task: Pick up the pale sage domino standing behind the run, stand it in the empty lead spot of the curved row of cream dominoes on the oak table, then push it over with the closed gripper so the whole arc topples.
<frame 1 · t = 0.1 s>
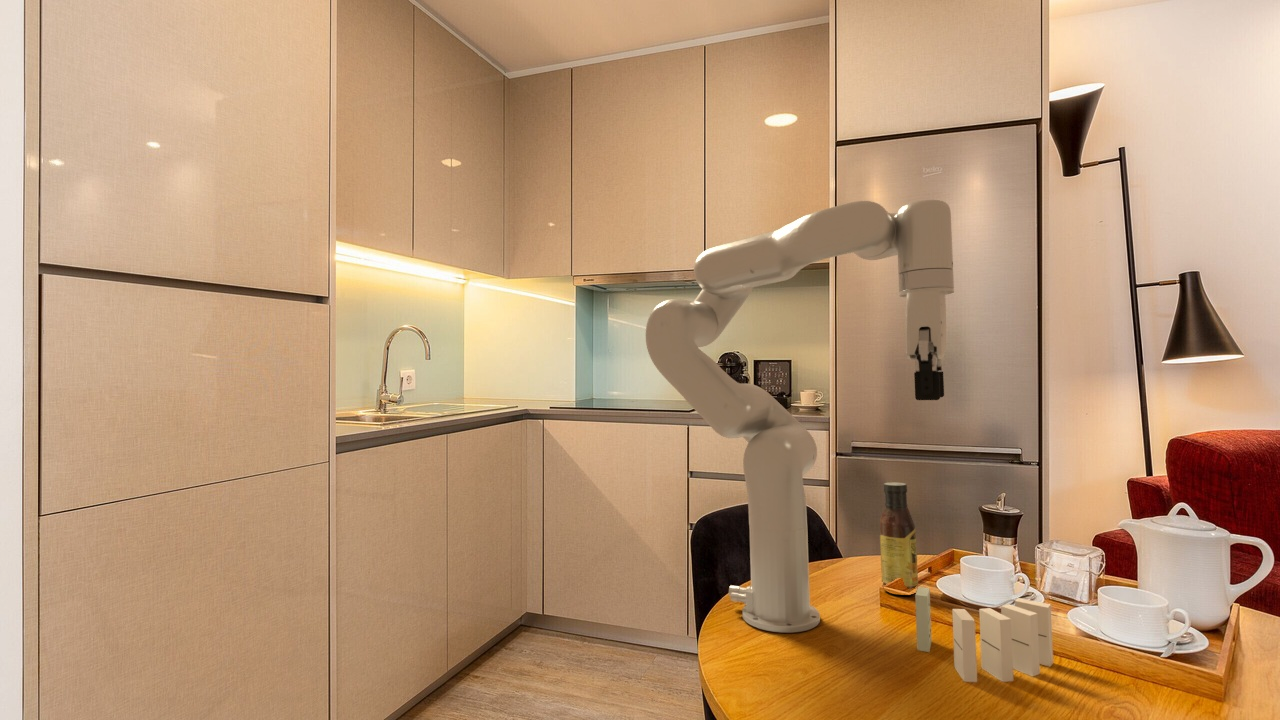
hand: (930, 398, 94), 37 cm above the table, tool pointing down, fingers open, 9 cm apart
domino 5: (1035, 660, 88), on the table
sage domino: (924, 645, 93), on the table
sauce bottle: (899, 592, 116), on the table
domino 3: (997, 674, 84), on the table
domino 2: (965, 674, 84), on the table
domino 4: (1021, 669, 85), on the table
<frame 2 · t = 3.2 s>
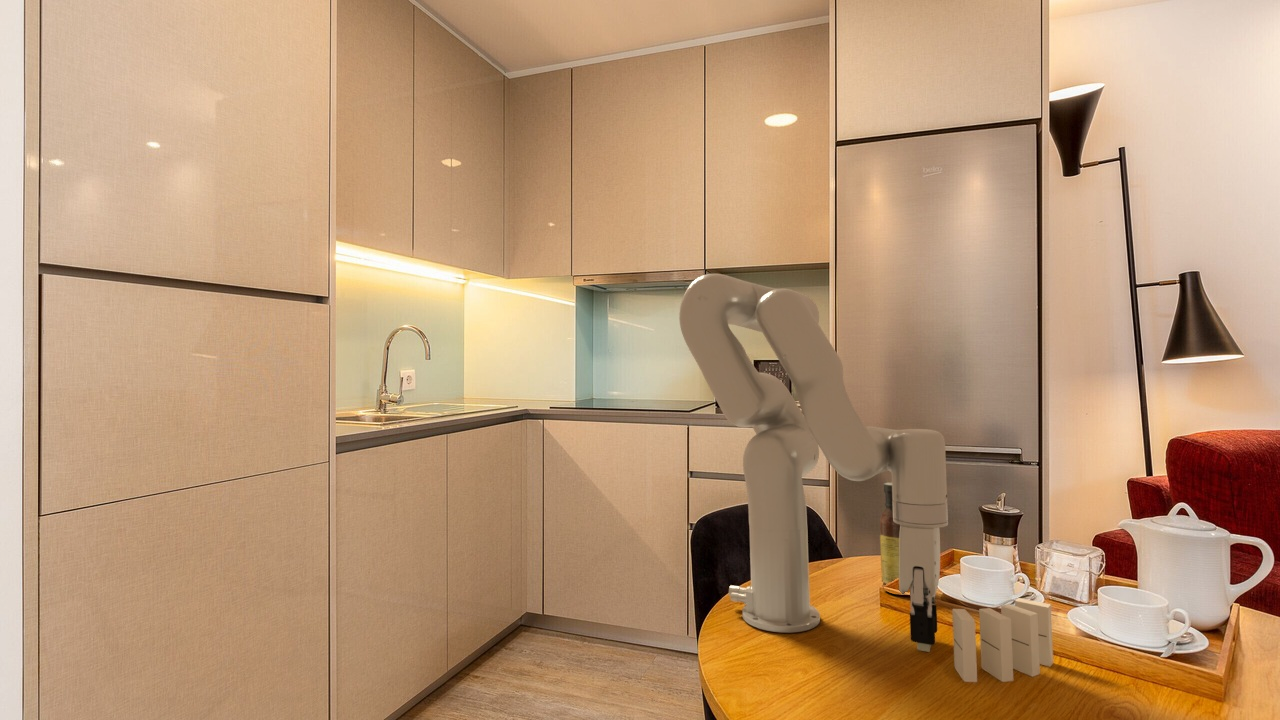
hand: (924, 635, 93), 1 cm above the table, tool pointing down, fingers closed on sage domino, 3 cm apart
sage domino: (924, 645, 93), on the table, touching gripper
everything else where it was.
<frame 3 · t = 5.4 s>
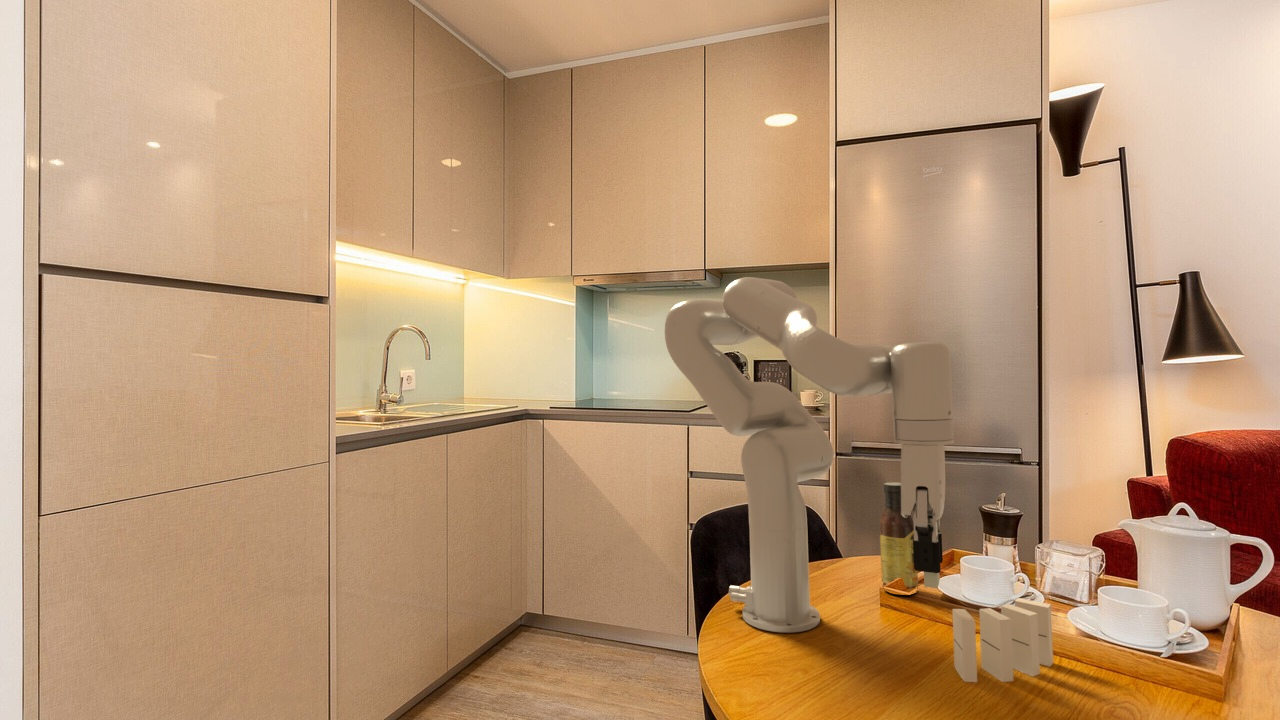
hand: (928, 565, 86), 14 cm above the table, tool pointing down, fingers closed on sage domino, 3 cm apart
sage domino: (932, 583, 85), point 12 cm above the table, touching gripper
everything else where it was.
when the fingers open (2 cm above the table, at t = 7.8 s): sage domino stays where it is, on the table.
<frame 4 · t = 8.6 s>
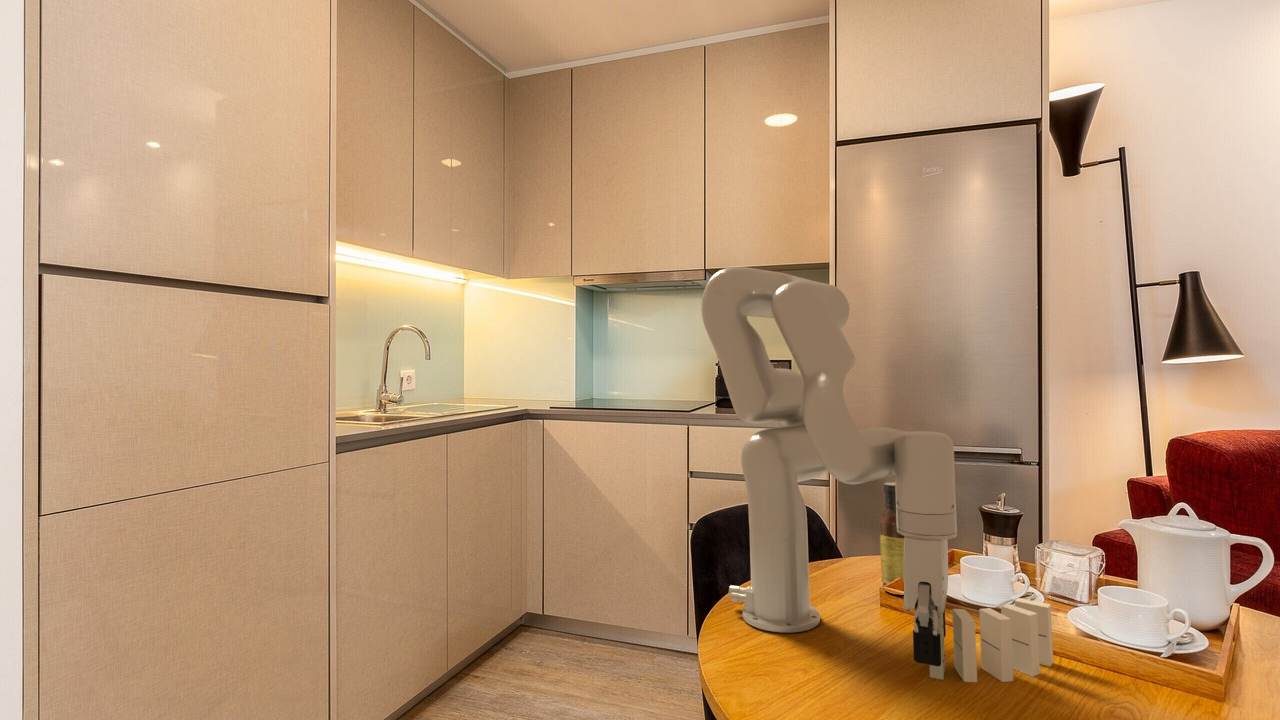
hand: (930, 648, 86), 3 cm above the table, tool pointing down, fingers open, 9 cm apart
sage domino: (937, 672, 85), on the table
everything else where it was.
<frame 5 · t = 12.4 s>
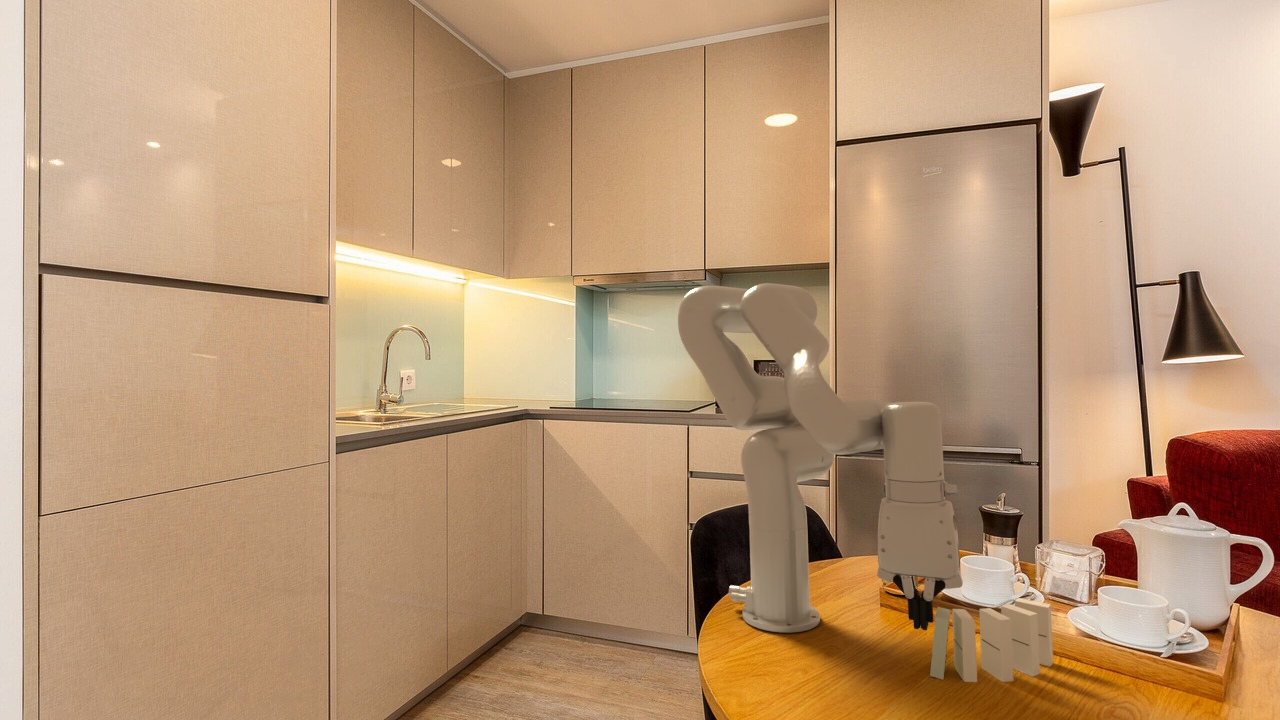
hand: (921, 625, 86), 6 cm above the table, tool pointing down, fingers closed
sage domino: (937, 671, 85), on the table, tilted 7°
everything else where it was.
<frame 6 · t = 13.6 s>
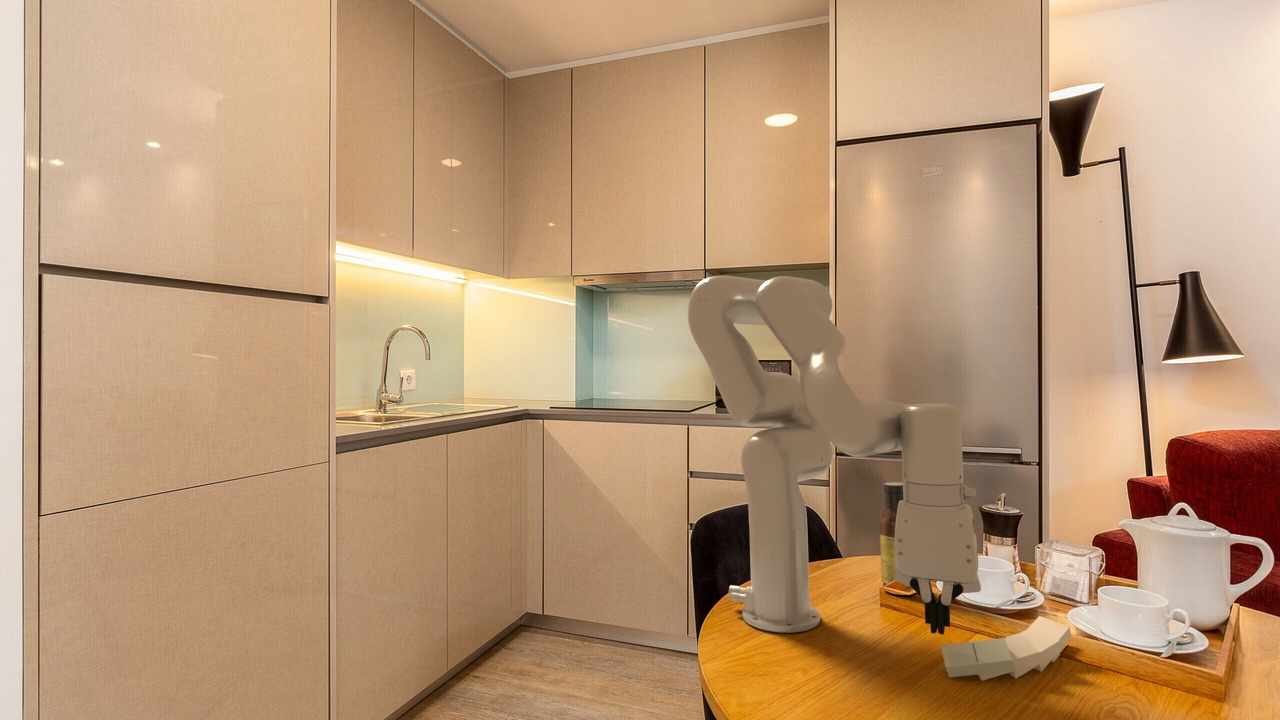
hand: (937, 630, 85), 6 cm above the table, tool pointing down, fingers closed
domino 5: (1036, 652, 88), point 1 cm above the table, tilted 90°, touching domino 4
sage domino: (944, 661, 85), point 2 cm above the table, tilted 74°, touching domino 2
domino 3: (1002, 665, 84), point 1 cm above the table, tilted 69°, touching domino 2, domino 4
domino 2: (972, 665, 84), point 1 cm above the table, tilted 71°, touching domino 3, sage domino
domino 4: (1025, 660, 86), point 1 cm above the table, tilted 67°, touching domino 3, domino 5
everything else where it was.
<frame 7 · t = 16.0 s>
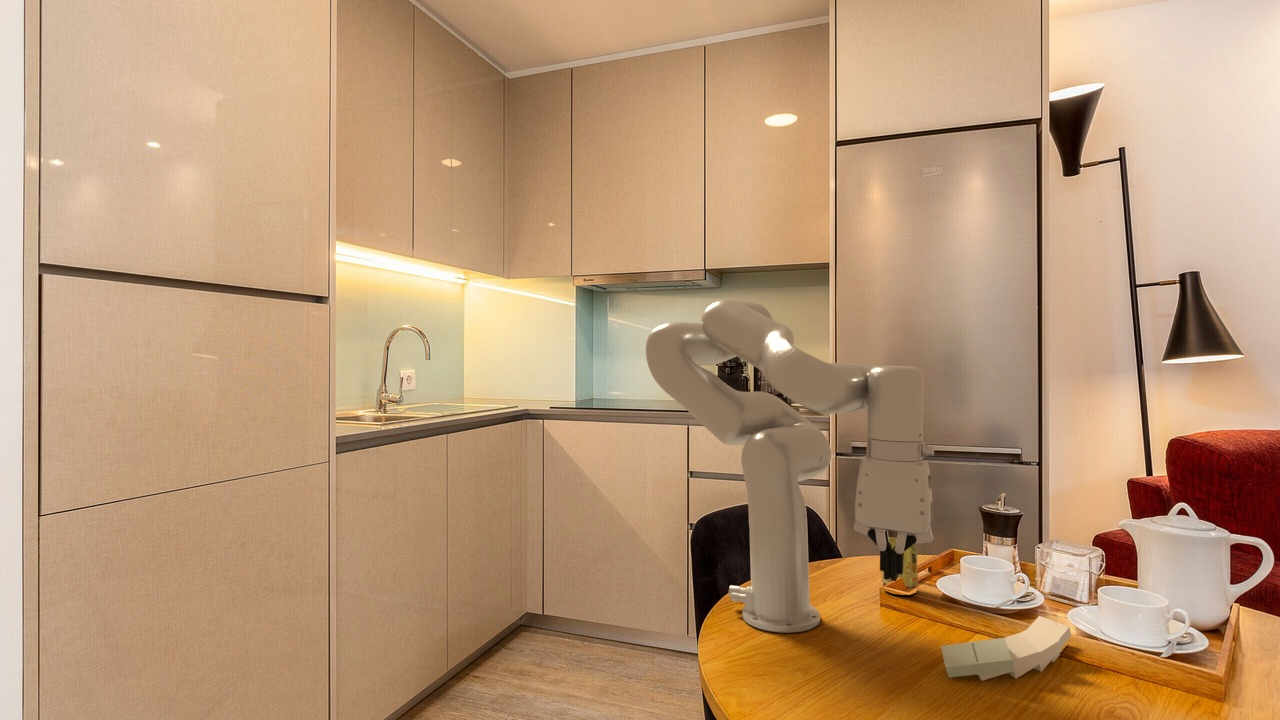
hand: (891, 577, 91), 11 cm above the table, tool pointing down, fingers closed
nothing on the table moved.
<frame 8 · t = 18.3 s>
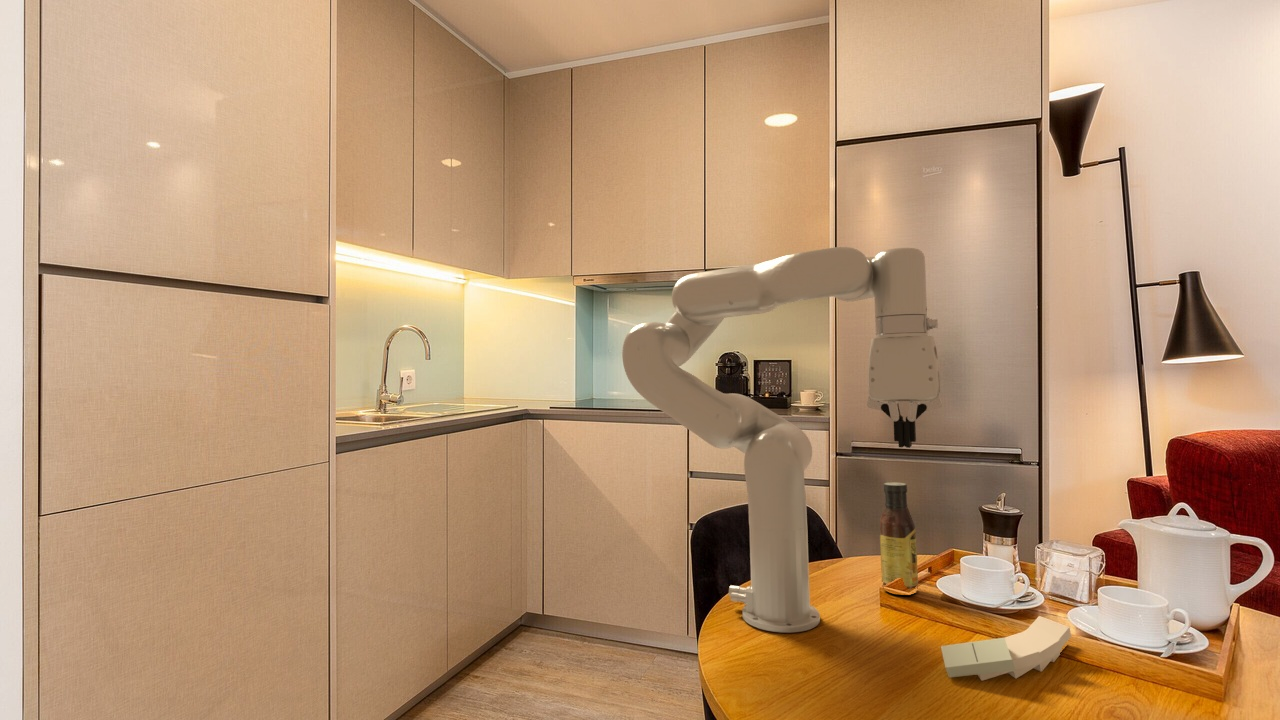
hand: (905, 446, 98), 29 cm above the table, tool pointing down, fingers closed
nothing on the table moved.
at the end: domino 5 tilted 90°; sage domino tilted 74°; the gripper is holding nothing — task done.
